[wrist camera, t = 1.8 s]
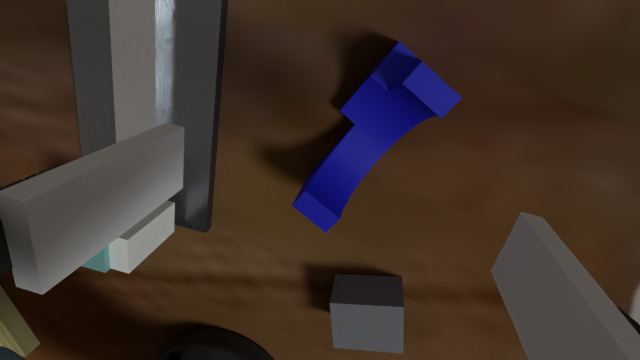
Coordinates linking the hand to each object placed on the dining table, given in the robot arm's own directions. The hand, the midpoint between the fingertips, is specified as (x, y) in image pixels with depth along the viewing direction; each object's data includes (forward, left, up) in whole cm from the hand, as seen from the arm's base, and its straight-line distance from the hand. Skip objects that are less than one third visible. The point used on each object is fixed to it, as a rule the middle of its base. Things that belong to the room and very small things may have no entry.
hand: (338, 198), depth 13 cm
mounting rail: (0, +17, -14) cm, 22 cm away
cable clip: (-1, 0, -14) cm, 14 cm away
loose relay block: (-16, -5, -14) cm, 22 cm away
